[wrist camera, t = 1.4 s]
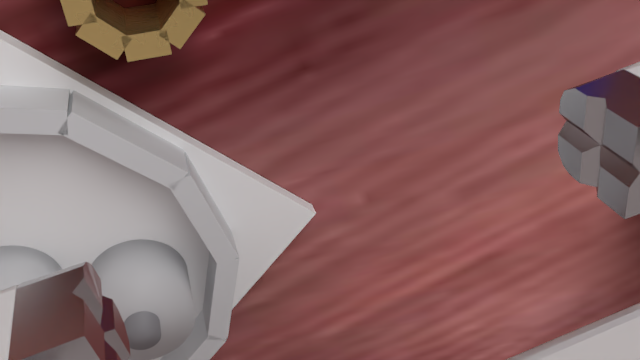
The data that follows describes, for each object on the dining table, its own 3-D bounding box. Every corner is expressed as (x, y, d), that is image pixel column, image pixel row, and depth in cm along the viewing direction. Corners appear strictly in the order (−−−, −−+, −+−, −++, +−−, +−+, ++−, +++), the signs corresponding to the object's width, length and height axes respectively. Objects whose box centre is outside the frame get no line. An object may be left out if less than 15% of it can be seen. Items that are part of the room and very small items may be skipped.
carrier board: (311, 204, 40) (340, 262, 35) (99, 450, 47) (98, 527, 42) (-134, -46, 26) (-188, -6, 21) (-346, 355, 33) (-423, 454, 28)
